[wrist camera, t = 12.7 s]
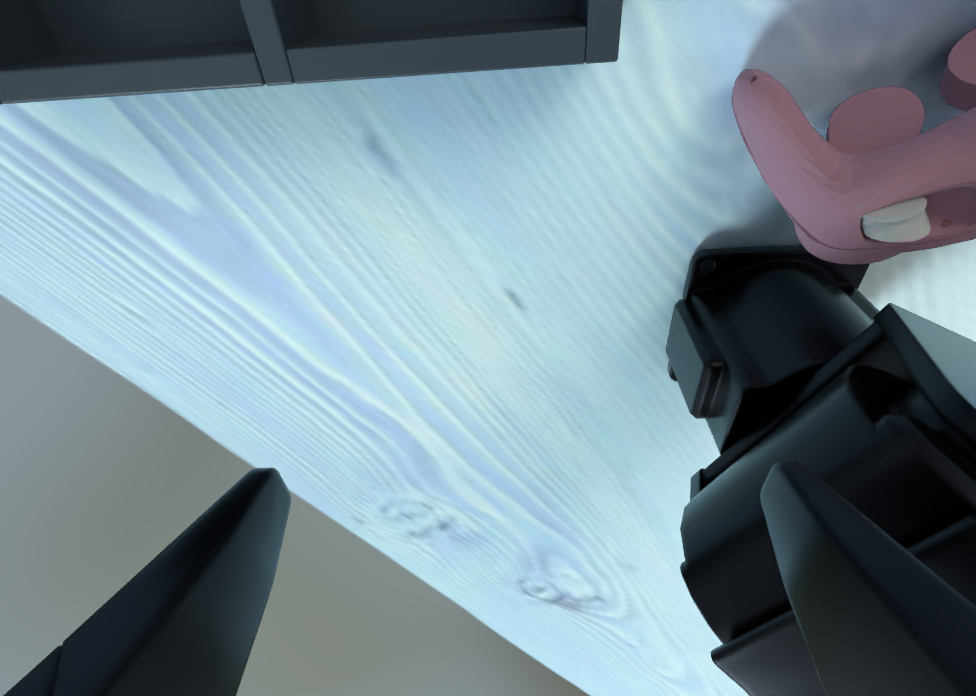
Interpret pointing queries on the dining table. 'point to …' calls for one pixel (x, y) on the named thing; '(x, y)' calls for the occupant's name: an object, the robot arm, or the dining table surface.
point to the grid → (283, 42)
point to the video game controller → (868, 164)
